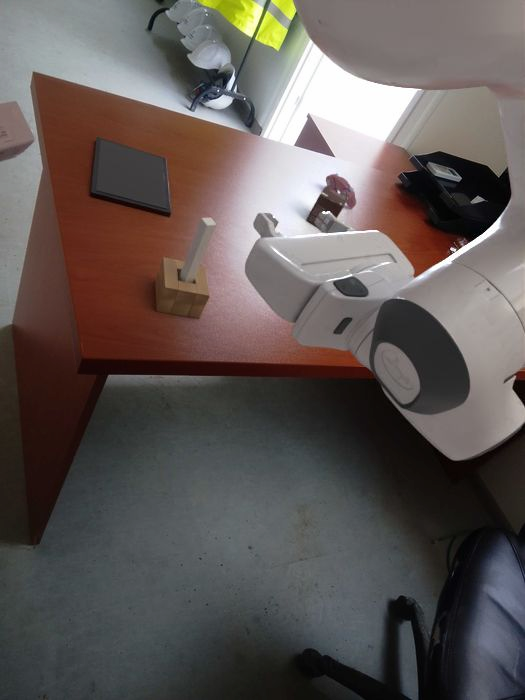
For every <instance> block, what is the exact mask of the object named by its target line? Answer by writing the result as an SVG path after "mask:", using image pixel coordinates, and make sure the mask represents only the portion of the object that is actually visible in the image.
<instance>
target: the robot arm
mask: <svg viewBox="0 0 525 700" xmlns="http://www.w3.org/2000/svg"><path fill="white" fill-rule="evenodd" d="M292 3H293V5H294V8H295V10H296V14H297V16H298V18H299V20H300V22H301V24H302V26H303V28H304V30H305V32H306V34H307V36H308V38H309V39H310V41H311V42H312V43H313V44H314V45H315V46H316V48H318V50H320V52H321V53H322V54H323V55H324V56H325V57H326V58H328V59H329V60H330V61H331V62H332V63H333V64H335V65H336V66H337V67H339V68H341V69H342V70H343V71H344V72H345V73H346V72H347V73H348V74H350V75H351V76H353V77H355V78H358V79H360V80H362V81H365V82H368V83H371V84H375V85H378V86H382V87H388V88H395V89H403V90H414V91H415V90H416V91H448V90H449V91H450V90H463V89H471V88H481V87H482V88H483V87H486V88H487V89H488V90H489V91H490V92H491V93H492V95H493V96H494V99H495V101H496V104H497V106H498V110H499V116H500V123H501V129H502V136H503V142H504V149H505V150H504V151H505V157H506V164H507V170H508V171H507V172H508V178H509V183H510V191H511V195H510V199H509V202H508V204H507V206H506V207H505V209H504V210H503V212H502V213H501V214H500V216H499V217H498V218H497V220H496V221H495V222H494V223H493V224H491V226H490V227H489V228H487V230H486V231H485V232H483V233H482V234H481V235H479V236H478V237H476V238H475V239H474V240H472V241H470V242H469V243H468V244H466V245H464V246H462V247H461V248H460V249H458V250H457V251H455V252H454V253H453V254H451V255H450V256H448V257H446V258H445V259H443V260H442V261H440V262H439V263H436V264H434V265H432V266H430V267H429V268H428V269H426V270H425V271H424V272H422V273H420V274H419V275H417V276H416V277H415V276H414V275H415V268H414V266H413V265H412V263H411V262H410V260H409V259H408V258H407V256H406V255H405V254H404V253H403V251H402V250H401V249H400V248H399V247H398V245H396V244H395V243H394V241H393V240H392V239H391V238H390V237H389V236H388V235H387V234H385V233H383V232H381V231H379V230H365V231H357V230H356V229H355V227H352V226H351V225H348V224H347V223H345V222H343V221H341V220H340V219H338V217H337V218H336V217H335V216H334V215H333V214H332V213H331V212H320V213H319V214H318V217H317V218H316V219H315V225H316V226H315V225H314V226H315V227H317V228H318V230H319V231H320V232H321V233H317V234H316V233H315V234H303V235H302V234H300V235H284V234H283V233H282V232H281V231H279V232H277V230H276V228H277V226H278V225H279V220H278V219H277V218H276V217H275V216H274V215H273V214H272V213H271V212H258V213H257V214H256V216H255V218H254V220H253V223H252V226H253V229H254V230H255V231H256V232H257V234H258V235H259V236H260V238H258V239H256V241H255V242H254V244H253V245H252V248H251V249H250V251H249V254H248V256H247V258H246V260H245V263H244V274H245V276H246V279H248V281H249V283H250V284H251V286H252V287H253V288H254V289H255V291H256V292H257V293H258V295H259V296H260V297H261V298H262V300H263V301H264V302H265V304H267V306H268V307H269V308H270V309H271V310H272V311H273V313H274V314H275V315H277V316H278V317H279V318H281V319H282V320H283V321H286V322H288V323H292V324H293V325H292V327H291V330H290V333H291V336H292V337H293V339H294V340H295V341H296V342H297V343H298V344H299V345H301V346H302V347H310V348H311V347H312V348H327V349H334V350H338V351H343V352H347V351H349V352H350V353H351V355H352V356H353V357H354V358H355V359H356V361H357V362H358V363H360V364H361V365H362V366H364V367H365V368H367V369H368V370H369V371H370V372H371V373H372V374H373V376H374V378H375V379H376V381H377V382H378V383H379V384H380V386H381V389H382V391H383V393H384V395H385V396H386V397H387V398H388V400H389V401H390V402H391V403H392V404H393V406H395V408H396V409H397V410H398V411H399V412H400V413H401V415H402V416H403V417H404V418H405V419H406V420H407V421H408V422H409V423H410V425H412V427H413V428H414V429H415V430H416V431H417V432H419V433H420V434H421V435H422V436H423V438H424V439H426V440H427V441H428V442H429V443H430V445H432V446H433V447H434V448H435V449H437V450H438V451H439V452H440V453H442V454H443V455H444V456H445V457H446V458H448V459H450V460H451V461H455V462H456V461H457V462H458V461H459V462H460V461H469V460H473V459H475V458H479V457H480V456H483V455H484V454H486V453H488V452H491V451H493V450H494V449H496V448H498V447H500V446H501V445H502V444H504V443H505V442H506V441H508V440H509V439H510V438H512V437H513V436H514V435H516V434H517V433H519V431H520V430H521V429H522V427H523V426H524V425H525V405H524V403H523V402H522V400H521V399H520V398H519V396H518V395H517V393H516V392H515V391H514V389H513V387H514V383H515V380H516V378H517V375H515V374H516V373H518V372H520V371H521V370H523V369H525V0H292Z"/></svg>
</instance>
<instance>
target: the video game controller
mask: <svg viewBox="0 0 525 700" xmlns="http://www.w3.org/2000/svg"><path fill="white" fill-rule="evenodd" d="M325 183H326V186H328V187H329V188H331V189H332V190H334V191H336V192H337V193H339V194H341V195H342V196H344V197H346V198H347V201H346V203H345V205H346V207H348V208H349V209H354V208H355V207H356V205H357V199H356V193H355V192H356V191H354V188H353V187H352V186H351V184H350V183H349V181H348V180H347V179H346V178H345V177H343V176H339V174H338V173H337V172H336V173H335V174H334V173H332V174H329V175H327V176H325Z"/></svg>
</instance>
